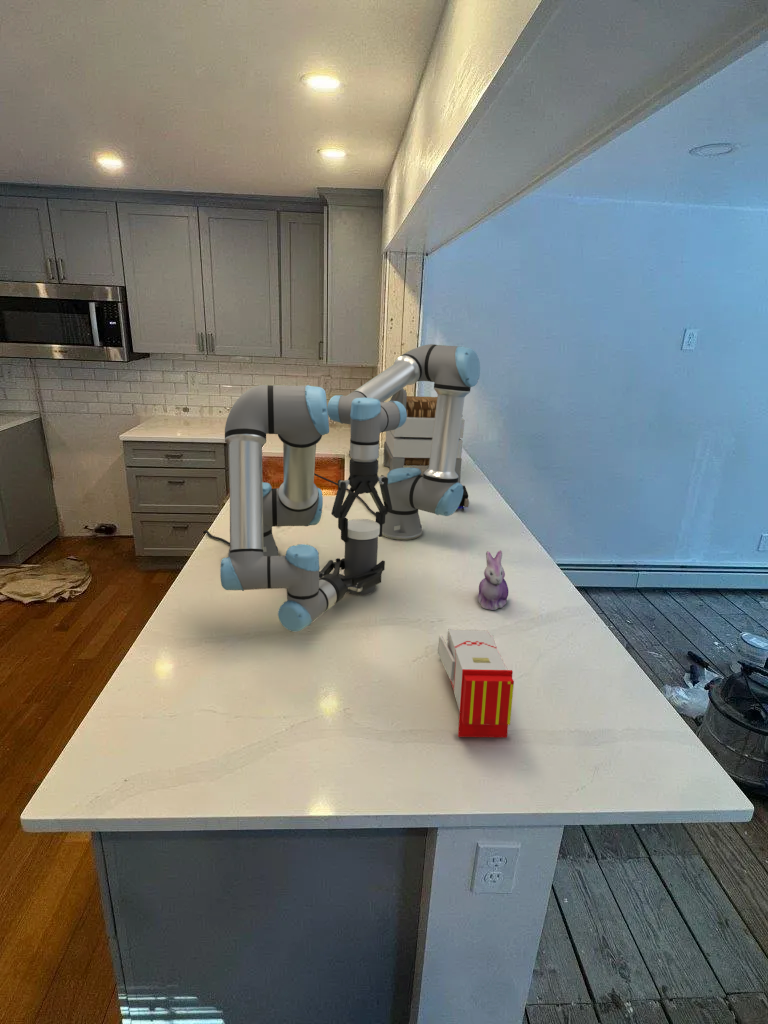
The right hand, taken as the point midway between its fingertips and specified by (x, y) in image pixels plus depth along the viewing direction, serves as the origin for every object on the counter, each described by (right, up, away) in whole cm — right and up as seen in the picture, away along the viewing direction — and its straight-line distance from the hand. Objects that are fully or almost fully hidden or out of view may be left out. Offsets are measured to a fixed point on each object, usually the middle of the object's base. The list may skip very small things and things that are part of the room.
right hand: (361, 537), depth 155 cm
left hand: (+2, -7, +7) cm, 10 cm away
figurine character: (+36, +9, +75) cm, 84 cm away
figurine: (+36, -18, 0) cm, 40 cm away
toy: (+24, -31, -37) cm, 54 cm away
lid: (0, +3, -1) cm, 3 cm away
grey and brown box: (+23, +26, +120) cm, 125 cm away
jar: (-1, -14, +5) cm, 15 cm away
